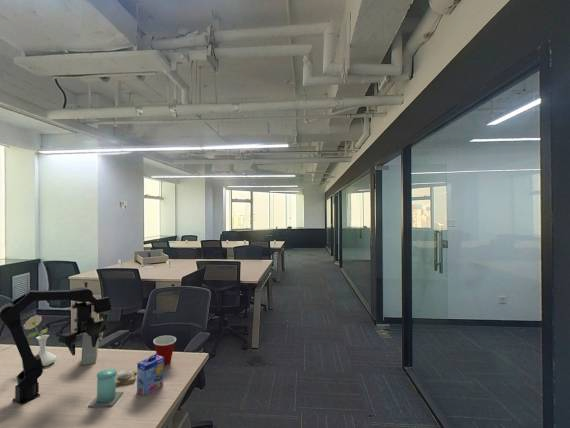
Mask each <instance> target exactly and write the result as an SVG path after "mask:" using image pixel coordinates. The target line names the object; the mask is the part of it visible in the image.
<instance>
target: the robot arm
mask: <svg viewBox="0 0 570 428" xmlns="http://www.w3.org/2000/svg"><path fill="white" fill-rule="evenodd" d="M38 301H39V302H41V301H42V302H43V301H72V302H74V303H73V304H71V305H70V307H71V308H72V309H73V310H74V309H75V310H76V315H75V317H76V318H75V319H74V320H73V321H74V323H75V324H76V326H75V328H74V329H73V330H74V332H70V331H69V332H65V333H60V335H59V336H58V340H57V341H58V342H59V343H63V344H65V345H66V347H67V349H68V350H69V351H70V354H71V355H72V356H73V357H74V356H76V343H77V342H78V340H77V337H79V336H83V334H86V333H87V334H88V335H89V336H91V341H92V347H95V345H96V343H97V340H98V341H99V339H98V337H100V335H101V334H102V333H103V332H105V330H107V329H108V324H107V323H106V322H105V321H104V320H100V321H95V317H93V316H92V315H93V314H92V312H93V313H94V314H95V315H97V314H104V313H107V312H111V310H112V304H111V300H110V297H109V296H104V297H100V298H96V297H95V296H94V293H93V291H92V290H91V289H90V288H89V287H87V286H83V287H75V288H71V289H63V290H62V289H60V290H59V289H58V290H52V289H51V290H34V289H31V290H27V292H25V293H24V294H23V295H21V296H19V297H17V298H16V299H14V300H12V301H11V302H8V303H4V305H2V306H1V307H0V319H1V321H2V322H3V323H4V326H6V327H7V328H8V330H9V331H10V333H11V336H12V339H13V342H14V343H15V347H16V348H17V351H18V354H19V356H20V358H21V364H22V371H20V372H19V374H17V376H15V377H16V382H17V384H16V385H15V386H14V395H15V396H14V398H13V399H12V401H13V402H15V403H17V404H21V405H24V404H26V403H27V402H29V401H32V400H34V399H36V398H38V397H40V396H41V393H39V389H40V387H39V386H40V384H39V382H38V379H39V378H40V377H41V376H42V375H43V371H44V369H43V368H45V366H44V365H43V362H42V361H41V358H40V355H39V354H38V353H37V354H38V355H37V354H36V355H35V354H34V353H33V350H32V349H31V346H30V343H29V341H28V337H27V335H26V334H25V331H24V327H22V321H21V320H22V319H21V313H22V312H23V311H24V310H26V308H28V306H30V305H31V304H32V303H34V302H38Z"/></svg>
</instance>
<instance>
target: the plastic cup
mask: <svg viewBox="0 0 570 428" xmlns="http://www.w3.org/2000/svg"><path fill="white" fill-rule="evenodd" d="M176 341H177V337H176V336H173V335H160V336H157V337H156V338H154V339H153V344H154V348H155V349H154V350H155V354H157V355H159V356H162V357H164V367H166V366H168V365H170V364H171V362H172V357H173V352H174V347H175V343H176Z"/></svg>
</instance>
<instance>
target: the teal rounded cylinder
mask: <svg viewBox="0 0 570 428" xmlns="http://www.w3.org/2000/svg"><path fill="white" fill-rule="evenodd" d="M117 371H118V370H117V369H116V368H106V369H103V370H100V371H99V372H97V373H96V379H97V380H96V381H97V384H96V385H97V386H96V397H97V402H99V403H104V402H108V401H111V400H113V399H114V398H115V392H117V391H116V389H117V386H116V374H118V373H117Z"/></svg>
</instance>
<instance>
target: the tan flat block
mask: <svg viewBox="0 0 570 428" xmlns="http://www.w3.org/2000/svg"><path fill="white" fill-rule="evenodd" d="M136 376H137V371H136V370H130V369H129V370H128V369H125V370H122V371H120V372H118V373H116V387H118V386H123V385H128V384H134V383H135V382H136V381H135V380H136Z"/></svg>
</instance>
